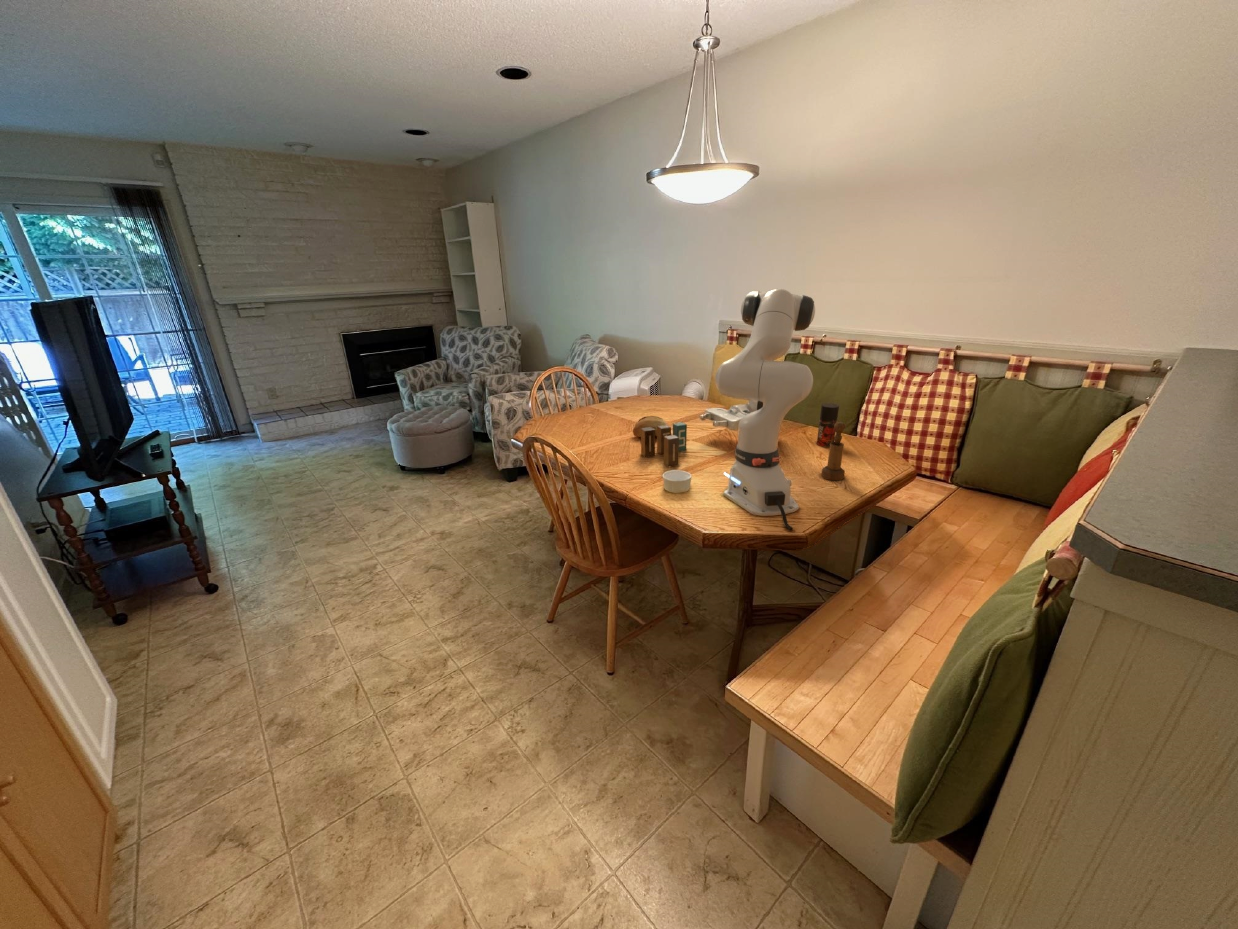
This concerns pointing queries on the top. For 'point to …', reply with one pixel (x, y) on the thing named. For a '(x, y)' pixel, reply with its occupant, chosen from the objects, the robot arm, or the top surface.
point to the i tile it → (647, 442)
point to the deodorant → (827, 424)
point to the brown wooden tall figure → (835, 456)
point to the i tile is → (671, 450)
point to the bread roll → (648, 424)
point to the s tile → (680, 434)
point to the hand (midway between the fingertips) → (707, 421)
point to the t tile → (662, 437)
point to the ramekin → (677, 481)
